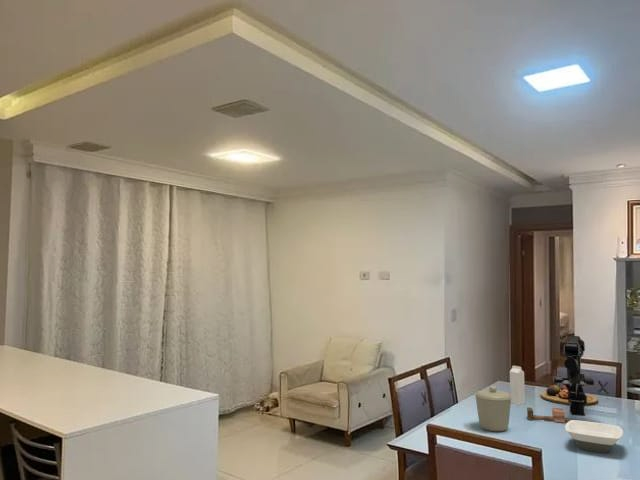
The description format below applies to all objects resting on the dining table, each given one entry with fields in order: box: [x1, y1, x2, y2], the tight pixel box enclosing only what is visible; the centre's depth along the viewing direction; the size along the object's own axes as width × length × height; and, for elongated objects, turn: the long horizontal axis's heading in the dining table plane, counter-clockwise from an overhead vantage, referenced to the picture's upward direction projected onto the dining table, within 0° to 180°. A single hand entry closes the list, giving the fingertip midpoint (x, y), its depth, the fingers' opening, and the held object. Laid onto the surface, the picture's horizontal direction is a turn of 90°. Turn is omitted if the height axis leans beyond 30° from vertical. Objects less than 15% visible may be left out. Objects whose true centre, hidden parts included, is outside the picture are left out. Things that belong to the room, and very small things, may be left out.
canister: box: [473, 385, 512, 432], centre depth 254 cm, size 18×18×21 cm
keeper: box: [551, 407, 566, 424], centre depth 267 cm, size 5×7×6 cm
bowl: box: [564, 419, 624, 454], centre depth 226 cm, size 22×23×8 cm
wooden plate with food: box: [540, 384, 599, 406], centre depth 313 cm, size 32×32×8 cm
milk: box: [509, 365, 526, 406], centre depth 303 cm, size 6×6×22 cm
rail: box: [526, 406, 571, 424], centre depth 268 cm, size 20×7×5 cm, turn 73°
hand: (573, 396), depth 265 cm, fingers open, 3 cm apart
